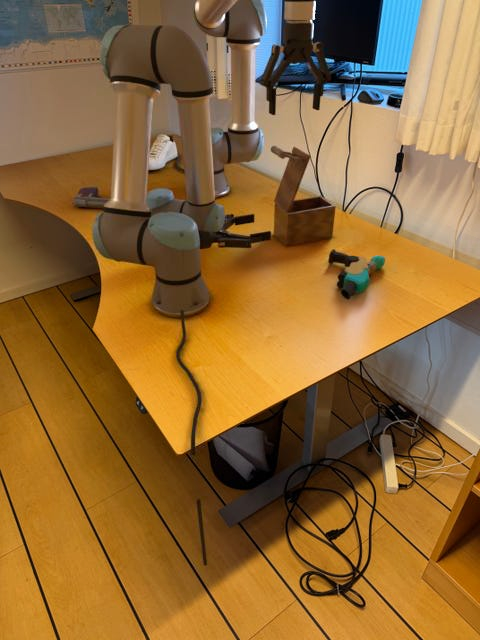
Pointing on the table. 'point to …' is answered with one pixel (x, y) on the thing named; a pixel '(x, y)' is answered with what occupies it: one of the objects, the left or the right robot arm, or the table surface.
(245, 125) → the right robot arm
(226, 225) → the left robot arm
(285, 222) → the chest
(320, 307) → the table surface
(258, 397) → the table surface
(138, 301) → the table surface
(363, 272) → the toy gun
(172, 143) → the sneaker
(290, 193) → the lid
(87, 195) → the toy gun
